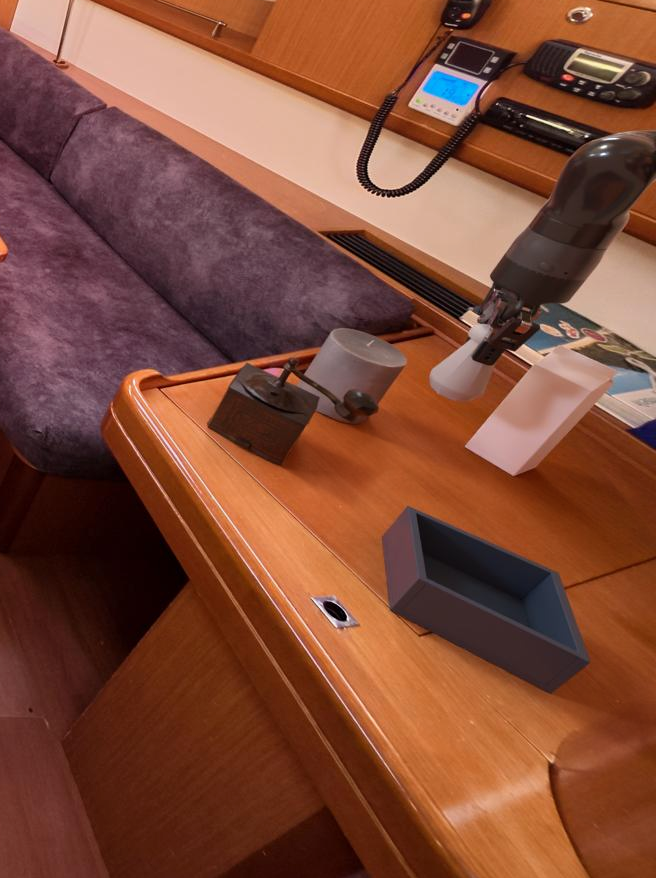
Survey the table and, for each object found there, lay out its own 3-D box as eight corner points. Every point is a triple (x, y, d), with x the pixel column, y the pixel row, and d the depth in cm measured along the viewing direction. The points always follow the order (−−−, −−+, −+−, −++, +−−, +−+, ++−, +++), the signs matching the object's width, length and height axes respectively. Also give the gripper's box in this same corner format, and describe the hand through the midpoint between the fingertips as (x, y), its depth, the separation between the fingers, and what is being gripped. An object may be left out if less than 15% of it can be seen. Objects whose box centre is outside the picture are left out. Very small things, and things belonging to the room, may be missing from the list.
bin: (524, 604, 82) (559, 572, 79) (551, 694, 73) (591, 663, 70) (381, 536, 90) (407, 505, 87) (389, 610, 81) (418, 578, 78)
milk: (513, 477, 99) (607, 376, 89) (462, 446, 105) (546, 348, 94) (535, 467, 101) (630, 367, 91) (484, 438, 106) (569, 340, 96)
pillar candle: (333, 384, 117) (374, 322, 110) (382, 426, 108) (430, 362, 101) (280, 382, 117) (318, 320, 110) (325, 424, 108) (369, 359, 101)
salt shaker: (472, 412, 96) (523, 348, 91) (420, 389, 100) (465, 327, 95) (477, 395, 99) (527, 333, 94) (426, 374, 104) (470, 313, 98)
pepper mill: (203, 428, 107) (247, 348, 99) (223, 398, 113) (266, 321, 105) (321, 493, 96) (381, 410, 88) (336, 456, 102) (394, 376, 94)
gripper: (604, 296, 82) (525, 391, 89) (574, 253, 91) (505, 342, 99) (517, 273, 86) (449, 366, 94) (497, 234, 96) (436, 321, 103)
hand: (478, 353), depth 96 cm, fingers closed on salt shaker, 4 cm apart
